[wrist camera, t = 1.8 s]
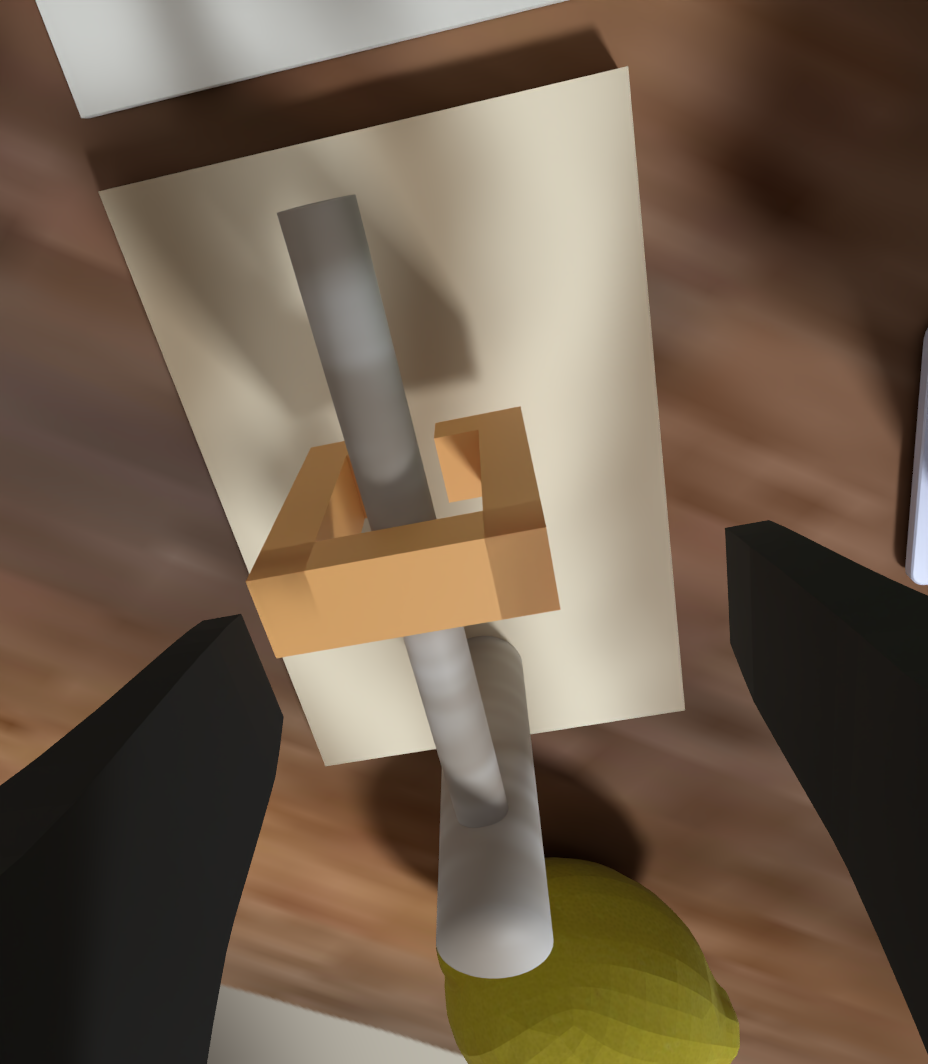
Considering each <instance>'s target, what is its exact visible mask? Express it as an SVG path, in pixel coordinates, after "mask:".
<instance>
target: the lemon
mask: <svg viewBox="0 0 928 1064" xmlns="http://www.w3.org/2000/svg"><path fill="white" fill-rule="evenodd" d="M544 860H545V869H546V878H547V887H548V896H549V905H550V914H551V923H552V931H553V947H552V950H551V952H550V954H549V956H548V957H547V958H546V960H545V961H544V962H543V963H541V964H540V965H539V966H537V967H536V968H534V969H532V970H530V971H528V972H526V973H523V974H520V975H517V976H513V977H507V978H492V979H490V978H480V977H475V976H470V975H467V974H464V973H462V972H459V971H457V970H455V969H454V968H452V967H451V966H449V965H448V964H447V963H446V962H445V961H444V960H443V959H442V958H441V956H440V955H439V953H438V950H437V947H436V950H437V956H438V960H439V964H440V968H441V970H442V972H443V973H444V975H445V996H446V1008H447V1016H448V1019H449V1023H450V1026H451V1029H452V1032H453V1035H454V1038H455V1041H456V1044H457V1045H458V1047H459V1049H460V1051H461V1053H462V1055H463V1056H464V1058H465V1059H466V1061H467V1063H468V1064H730V1063H731V1062H732V1060H733V1059H734V1058H735V1057H736V1056H737V1053H738V1050H739V1047H740V1034H739V1022H738V1019H737V1016H736V1013H735V1011H734V1009H733V1007H732V1004H731V1002H730V999H729V997H728V994H727V993H726V991H725V990H724V989H723V988H722V987H721V986H720V985H719V984H718V983H717V982H716V980H715V979H714V977H713V975H712V973H711V971H710V969H709V967H708V964H707V962H706V960H705V957H704V955H703V953H702V951H701V949H700V947H699V944H698V943H697V941H696V940H695V938H694V936H693V935H692V933H691V932H690V930H689V928H688V927H687V926H686V925H685V924H684V923H683V921H682V920H681V919H680V918H679V917H678V916H677V915H676V914H675V913H674V912H673V911H672V910H671V909H670V908H669V907H668V906H667V905H666V904H665V903H664V902H663V901H662V900H661V899H660V898H658V897H657V896H656V895H655V894H654V893H653V892H651V891H650V890H648V889H647V888H645V887H644V886H642V885H641V884H639V883H638V882H636V881H634V880H632V879H630V878H628V877H626V876H624V875H622V874H621V873H619V872H617V871H615V870H614V869H611V868H609V867H606V866H604V865H601V864H599V863H595V862H590V861H585V860H580V859H569V858H556V857H548V858H544Z"/></svg>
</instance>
